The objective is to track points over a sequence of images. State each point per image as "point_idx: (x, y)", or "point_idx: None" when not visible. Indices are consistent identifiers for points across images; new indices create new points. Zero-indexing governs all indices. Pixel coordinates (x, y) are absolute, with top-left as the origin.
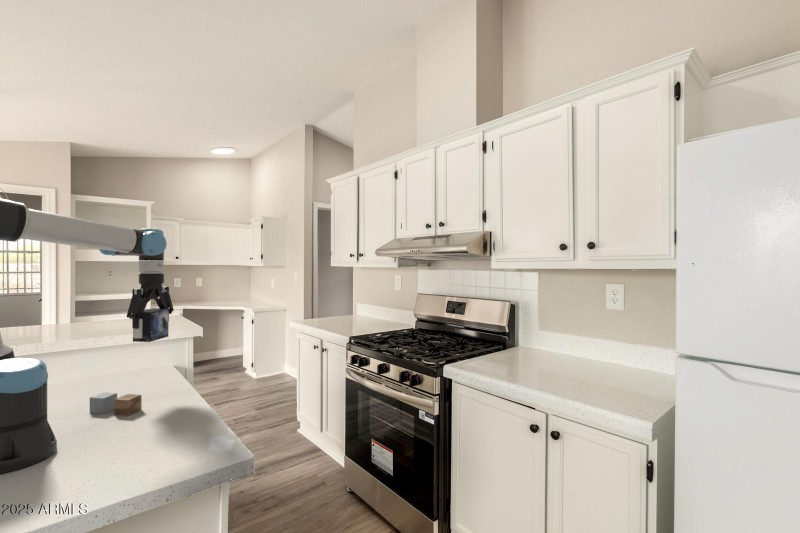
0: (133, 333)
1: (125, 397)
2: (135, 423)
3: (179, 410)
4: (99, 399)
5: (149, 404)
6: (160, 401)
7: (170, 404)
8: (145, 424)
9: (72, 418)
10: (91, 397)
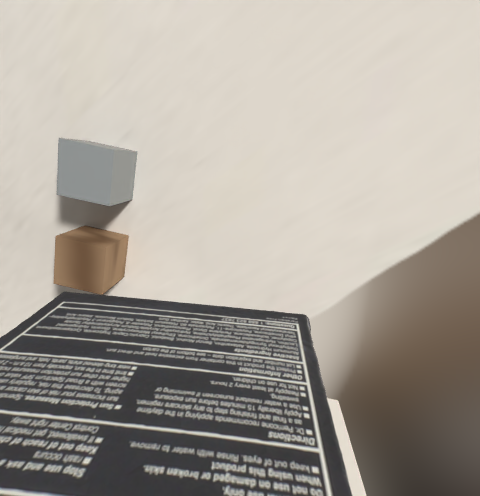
0: (9, 334)
1: (73, 261)
2: None
3: None
4: (59, 179)
5: (165, 275)
6: (189, 292)
7: None
8: None
9: (47, 121)
10: (59, 145)
